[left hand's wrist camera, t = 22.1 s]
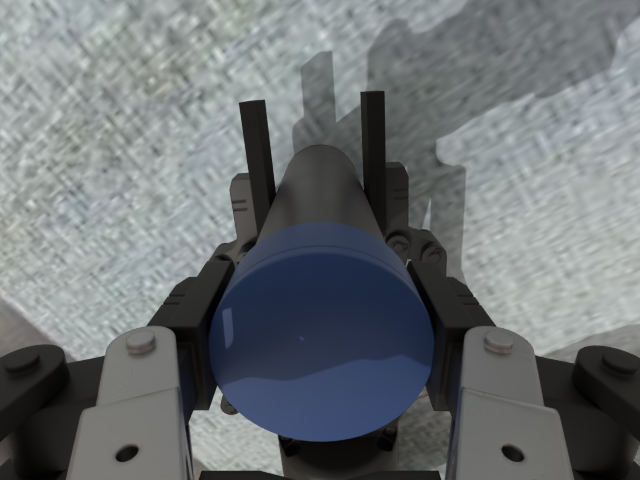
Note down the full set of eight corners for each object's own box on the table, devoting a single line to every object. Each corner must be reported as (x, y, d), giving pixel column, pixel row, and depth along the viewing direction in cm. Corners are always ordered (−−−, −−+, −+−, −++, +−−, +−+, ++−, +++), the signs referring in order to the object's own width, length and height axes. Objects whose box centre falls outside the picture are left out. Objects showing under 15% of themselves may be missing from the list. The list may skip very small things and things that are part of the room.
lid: (263, 401, 12) (252, 460, 10) (197, 251, 10) (169, 288, 8) (431, 362, 12) (453, 416, 10) (392, 196, 10) (410, 223, 8)
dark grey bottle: (368, 162, 26) (452, 295, 9) (337, 225, 27) (364, 433, 11) (301, 132, 25) (266, 218, 9) (274, 198, 26) (200, 377, 10)
